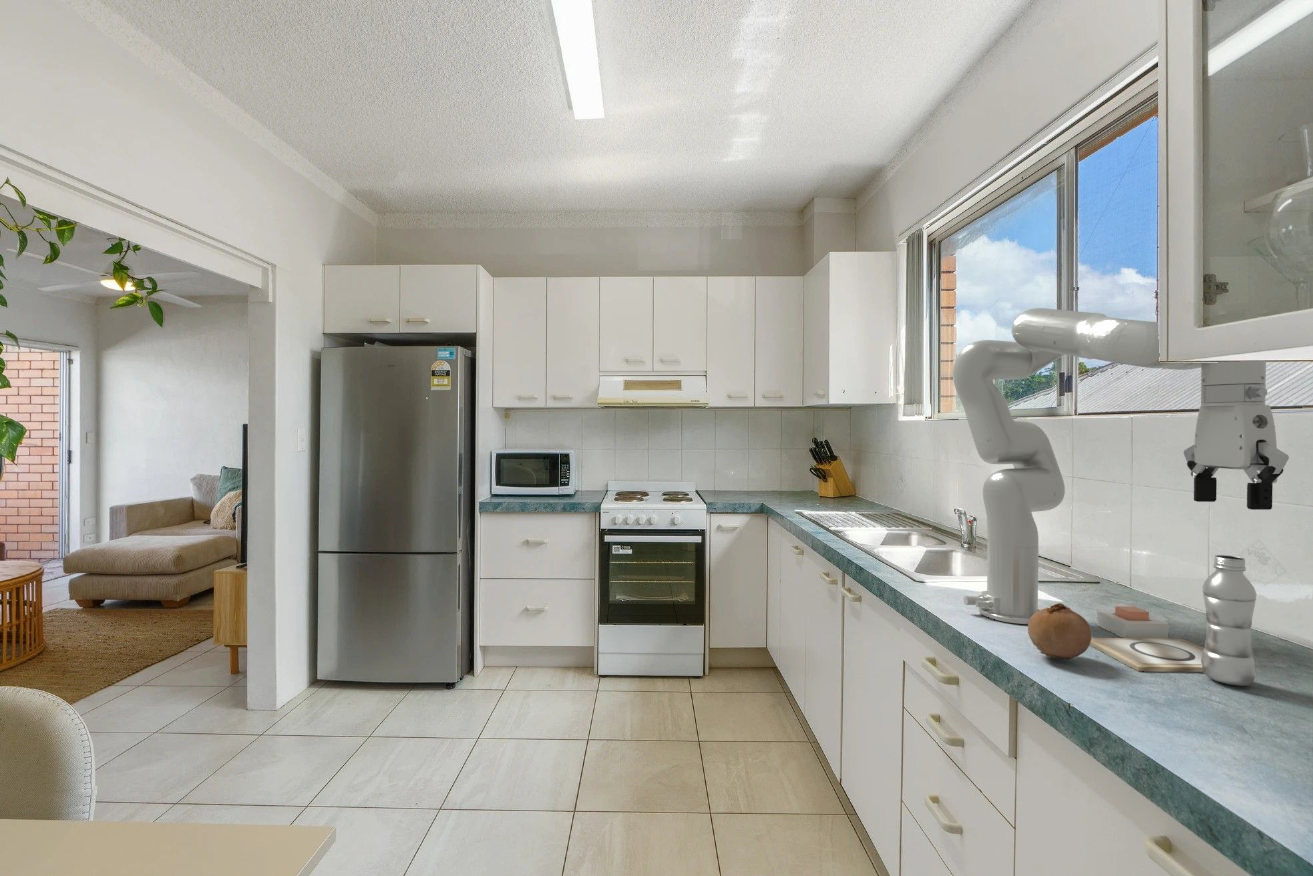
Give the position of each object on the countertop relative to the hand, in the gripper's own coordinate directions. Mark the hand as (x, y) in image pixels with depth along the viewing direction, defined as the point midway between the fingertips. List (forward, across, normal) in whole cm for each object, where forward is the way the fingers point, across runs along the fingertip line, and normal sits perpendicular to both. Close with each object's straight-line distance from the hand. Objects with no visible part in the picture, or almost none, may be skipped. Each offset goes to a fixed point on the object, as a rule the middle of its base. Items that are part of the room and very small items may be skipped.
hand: (1230, 505), depth 99 cm
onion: (+28, +9, +21) cm, 37 cm away
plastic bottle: (+28, 0, 0) cm, 29 cm away
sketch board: (+28, +11, +2) cm, 30 cm away
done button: (+26, +24, -2) cm, 36 cm away
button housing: (+28, +24, -2) cm, 37 cm away
